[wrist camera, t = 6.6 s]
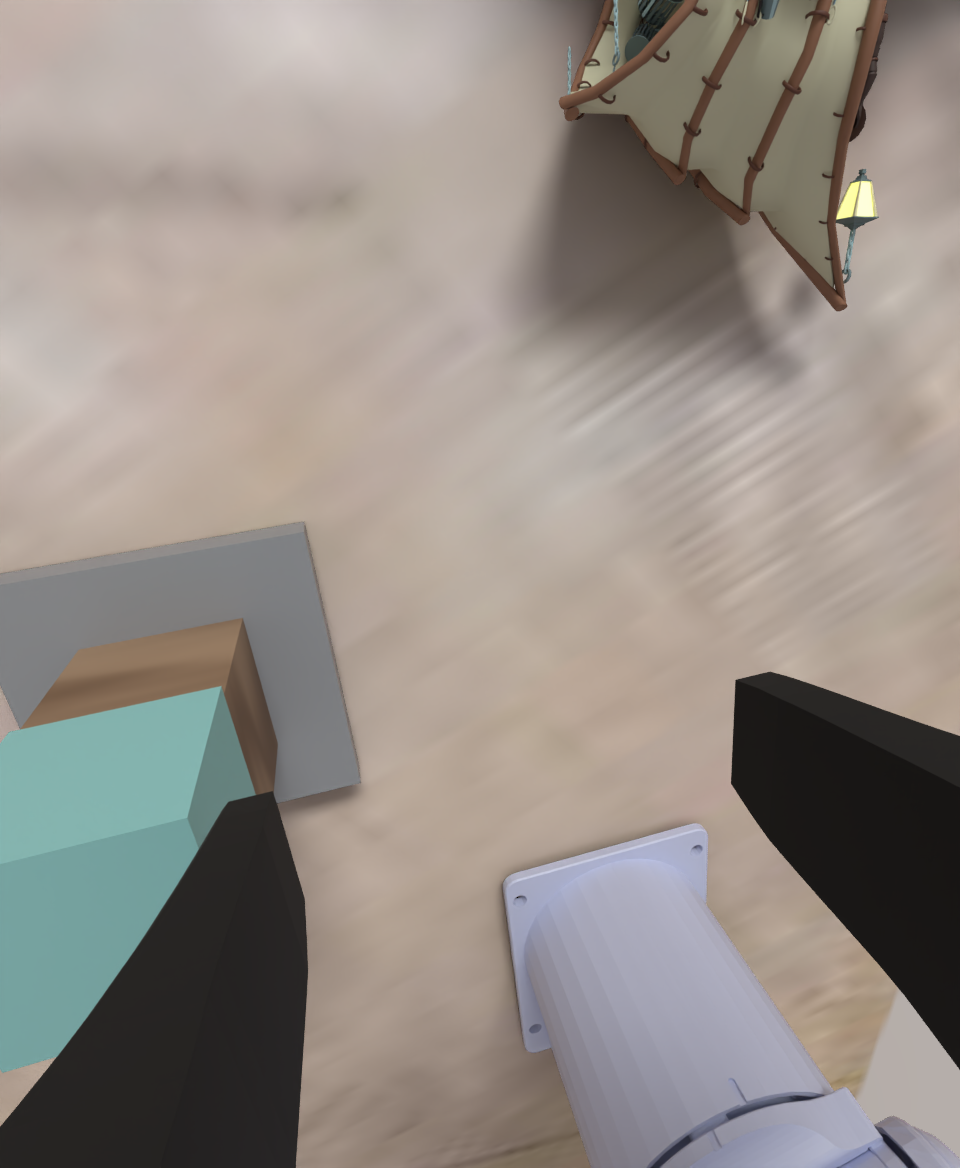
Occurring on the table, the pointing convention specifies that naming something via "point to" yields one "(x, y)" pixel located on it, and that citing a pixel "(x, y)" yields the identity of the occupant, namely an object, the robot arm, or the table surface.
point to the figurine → (747, 108)
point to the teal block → (99, 850)
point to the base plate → (185, 600)
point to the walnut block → (172, 684)
